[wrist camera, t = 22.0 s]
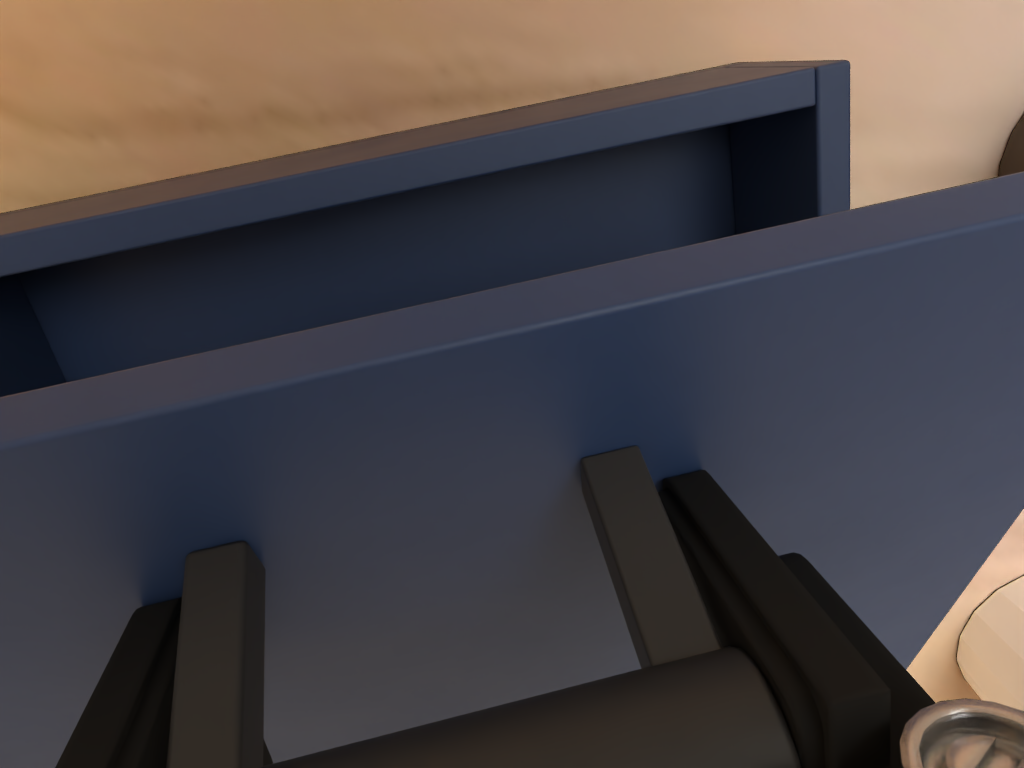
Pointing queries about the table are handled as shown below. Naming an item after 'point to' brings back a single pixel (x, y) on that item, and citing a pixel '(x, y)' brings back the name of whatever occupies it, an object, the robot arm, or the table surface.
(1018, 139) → the coffee cup
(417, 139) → the blue shallow open box
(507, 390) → the lid
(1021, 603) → the white short cylinder
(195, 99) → the table surface
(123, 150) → the table surface
